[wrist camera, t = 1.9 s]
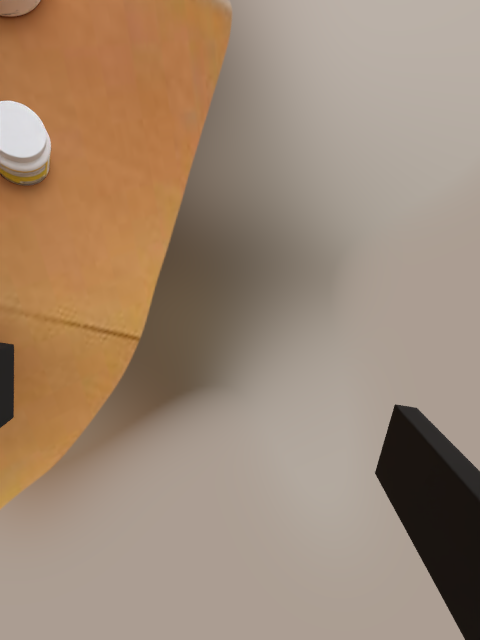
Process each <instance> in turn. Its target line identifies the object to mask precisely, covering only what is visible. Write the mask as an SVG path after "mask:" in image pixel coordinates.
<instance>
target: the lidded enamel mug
mask: <svg viewBox="0 0 480 640" xmlns="http://www.w3.org/2000/svg"><path fill="white" fill-rule="evenodd" d="M39 2H40V0H0V15H1V16H19V15H23V14H26V13H28V12H30V11H31V10H33V9H34V8H35V7H36V6H37V5H38V4H39Z"/></svg>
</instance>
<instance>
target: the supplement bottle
mask: <svg viewBox="0 0 480 640" xmlns="http://www.w3.org/2000/svg"><path fill="white" fill-rule="evenodd" d="M50 154H51V141H50V137H49V135H48V133H47V131H46V129H45V127H44V125H43V123H42V121H41V120H40V118H39V117H38V116H37V115H36V114H35V113H34V112H33V111H32V110H31V109H30V108H28V107H27V106H25V105H23V104H20V103H18V102H14V101H0V174H1V175H2V176H3V177H4V178H6V179H7V180H9V181H11V182H13V183H16V184H19V185H34V184H37V183H39V182H41V181H42V180H43V179H44V178H45V177H46V176H47V174H48V171H49V166H50Z"/></svg>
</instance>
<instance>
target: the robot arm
mask: <svg viewBox="0 0 480 640" xmlns="http://www.w3.org/2000/svg"><path fill="white" fill-rule="evenodd" d="M12 418H14V345H13V344H6V343H0V428H1V427H2V426H3V425H5V424H6V423H7V422H8V421H10V420H11V419H12ZM375 474H376V476H377V478H378V479H379V481H380V483H381V485H382V487H383V488H384V491H385V492H386V494H387V496H388V498H389V500H390V502H391V503H392V505H393V507H394V509H395V511H396V513H397V515H398V516H399V518H400V520H401V522H402V524H403V525H404V527H405V529H406V531H407V533H408V535H409V537H410V539H411V540H412V542H413V544H414V546H415V548H416V550H417V552H418V553H419V555H420V557H421V559H422V561H423V563H424V564H425V566H426V568H427V570H428V572H429V573H430V576H431V577H432V579H433V581H434V583H435V585H436V587H437V588H438V590H439V592H440V594H441V596H442V598H443V599H444V601H445V603H446V605H447V607H448V609H449V611H450V612H451V614H452V616H453V618H454V620H455V622H456V623H457V625H458V627H459V629H460V631H461V633H462V634H463V637H464V638H465V640H480V471H479V470H478V469H477V468H476V467H475V466H474V465H473V464H472V463H471V462H470V461H469V460H468V459H467V458H466V457H465V456H464V455H463V454H462V453H461V452H460V451H459V450H458V449H457V448H456V447H455V446H454V445H453V444H452V443H451V442H450V441H449V440H448V439H447V438H446V437H445V436H444V435H443V434H442V433H441V432H440V431H439V430H438V429H437V428H436V427H435V426H434V425H433V424H432V423H431V422H430V421H429V420H428V419H427V418H426V417H425V416H424V415H423V414H422V413H421V412H420V411H419V410H418V409H417V408H413V407H407V406H401V405H395V406H394V409H393V413H392V416H391V420H390V423H389V427H388V430H387V434H386V437H385V441H384V444H383V447H382V451H381V455H380V458H379V461H378V465H377V468H376V472H375Z"/></svg>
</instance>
